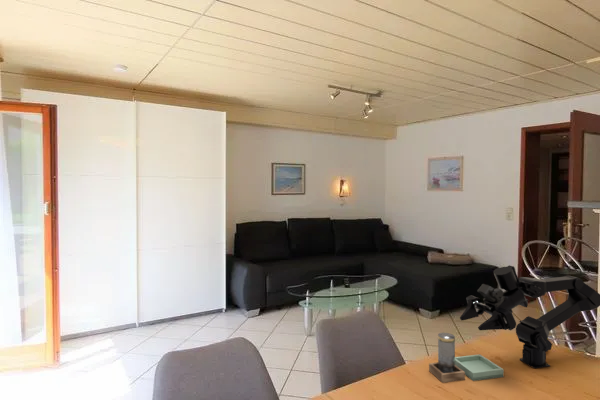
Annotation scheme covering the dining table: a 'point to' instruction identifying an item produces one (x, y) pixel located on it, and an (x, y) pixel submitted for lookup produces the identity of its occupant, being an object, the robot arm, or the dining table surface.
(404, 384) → the dining table surface
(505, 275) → the robot arm
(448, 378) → the holder
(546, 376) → the dining table surface
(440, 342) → the grey cylindrical piece
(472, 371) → the tray
